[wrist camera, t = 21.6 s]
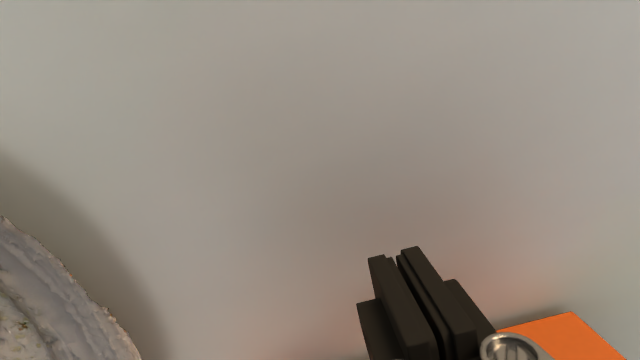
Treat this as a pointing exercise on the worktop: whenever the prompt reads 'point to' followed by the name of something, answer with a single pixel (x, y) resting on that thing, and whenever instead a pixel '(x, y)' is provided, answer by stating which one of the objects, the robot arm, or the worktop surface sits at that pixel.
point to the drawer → (566, 338)
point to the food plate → (50, 308)
